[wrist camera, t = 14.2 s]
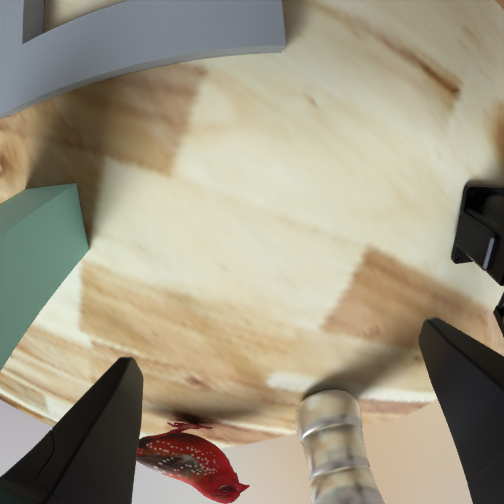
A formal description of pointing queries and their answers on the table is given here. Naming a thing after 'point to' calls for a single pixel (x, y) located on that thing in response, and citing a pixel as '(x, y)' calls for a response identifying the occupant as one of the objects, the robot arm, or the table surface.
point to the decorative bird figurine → (191, 462)
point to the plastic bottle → (335, 449)
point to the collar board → (124, 42)
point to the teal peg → (36, 255)
